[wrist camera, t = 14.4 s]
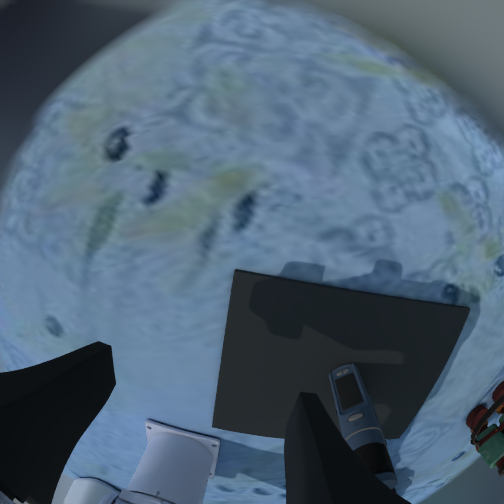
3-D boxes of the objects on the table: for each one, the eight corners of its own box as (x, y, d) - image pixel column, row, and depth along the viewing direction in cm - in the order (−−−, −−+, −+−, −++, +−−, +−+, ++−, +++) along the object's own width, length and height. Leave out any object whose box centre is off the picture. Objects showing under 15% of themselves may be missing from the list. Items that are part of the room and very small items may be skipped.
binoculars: (550, 406, 9) (546, 437, 9) (505, 363, 19) (513, 398, 19) (486, 469, 11) (493, 486, 11) (452, 412, 21) (467, 440, 21)
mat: (398, 436, 21) (399, 438, 21) (212, 424, 22) (211, 427, 22) (468, 307, 18) (470, 308, 17) (235, 268, 18) (234, 270, 18)
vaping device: (354, 355, 19) (402, 486, 7) (369, 396, 20) (407, 509, 8) (323, 369, 19) (349, 506, 8) (342, 408, 20) (366, 524, 8)
